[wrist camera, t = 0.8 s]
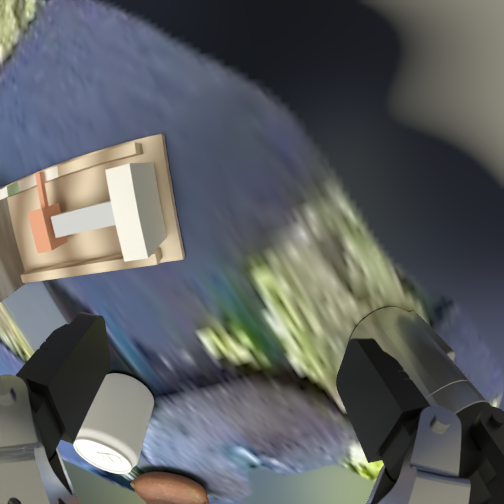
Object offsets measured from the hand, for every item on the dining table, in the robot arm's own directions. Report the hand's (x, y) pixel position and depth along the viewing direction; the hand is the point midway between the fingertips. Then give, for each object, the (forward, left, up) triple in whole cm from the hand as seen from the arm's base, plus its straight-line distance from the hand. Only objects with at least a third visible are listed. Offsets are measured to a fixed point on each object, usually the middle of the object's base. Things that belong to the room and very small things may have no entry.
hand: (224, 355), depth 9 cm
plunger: (+11, -3, -18) cm, 22 cm away
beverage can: (+18, +21, -20) cm, 34 cm away
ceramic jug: (+20, +49, -20) cm, 56 cm away
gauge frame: (+17, -3, -20) cm, 27 cm away
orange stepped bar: (+18, -5, -17) cm, 25 cm away
